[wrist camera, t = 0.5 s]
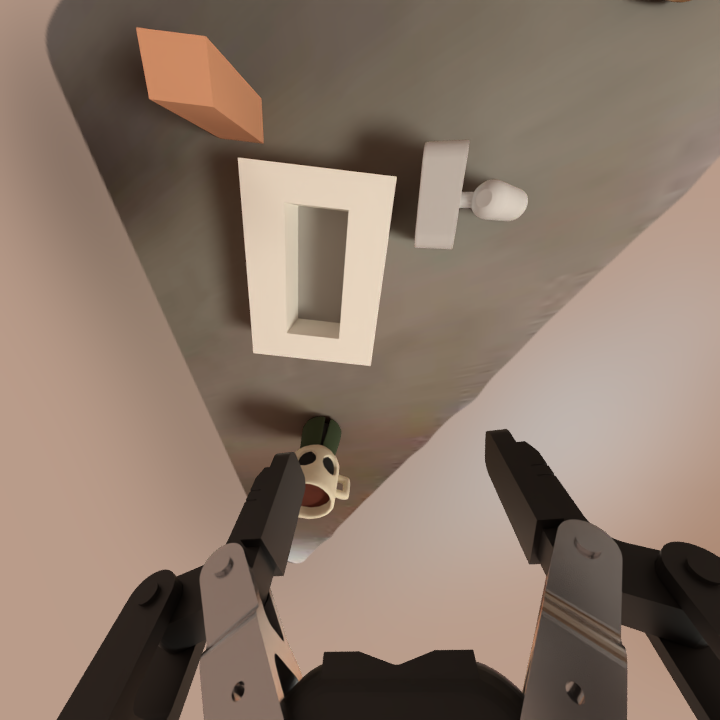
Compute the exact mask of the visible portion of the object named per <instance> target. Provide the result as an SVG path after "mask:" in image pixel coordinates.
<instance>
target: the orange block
mask: <svg viewBox="0 0 720 720" xmlns="http://www.w3.org/2000/svg"><path fill="white" fill-rule="evenodd" d="M136 30H137V36H138V41H139V46H140V52H141V57H142V63H143V68H144V73H145V79H146V84H147V89H148V95H149V99H150V100H152V101H154V102H155V103H157V104H159V105H161V106H163V107H164V108H166V109H168V110H170V111H172V112H173V113H175V114H177V115H179V116H181V117H182V118H184V119H186V120H188V121H190V122H191V123H193V124H195V125H197V126H199V127H200V128H202V129H204V130H206V131H208V132H209V133H211V134H213V135H215V136H217V137H218V138H221V139H230V140H238V141H246V142H254V143H263V144H264V142H263V120H262V99H261V98H260V97H259V95H258V94H257V93H256V92H255V91H254V90H253V89H252V88H251V86H250V85H249V84H248V83H247V82H246V81H245V80H244V79H243V77H242V76H241V75H240V74H239V73H238V72H237V71H236V70H235V68H234V67H233V66H232V65H231V64H230V63H229V62H228V61H227V60H226V58H225V57H224V56H223V55H222V54H221V53H220V52H219V51H218V49H217V48H216V47H215V46H214V45H213V44H212V43H211V42H210V40H209V39H208V38H207V37H206V36H199V35H191V34H183V33H175V32H168V31H160V30H152V29H144V28H136Z"/></svg>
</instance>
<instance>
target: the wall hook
mask: <svg viewBox="0 0 720 720" xmlns="http://www.w3.org/2000/svg"><path fill="white" fill-rule="evenodd" d="M469 142H470V140H452V141H432V142H426V143H425V146H424V152H423V160H422V170H421V180H420V190H419V200H418V210H417V220H416V230H415V247H416V248H438V249H452V248H453V243H454V237H455V231H456V225H457V219H458V212H459V208H472V211H473V213H474V214H475V215H476V216H477V217H479V218H481V219H487V220H500V221H512V220H515V219H517V218H518V217H519V216H521V215H522V214H523V212H524V211H525V209H526V207H527V203H528V197H527V194H526V193H525V192H524V191H523V190H522V189H519V188H517V187H515V186H512V185H510V184H508V183H505V182H503V181H500V180H496V179H492V180H488V181H485V182H483V183H482V184H481V185H479V186H478V187H477V189H476V190H475V191H474V192H462V187H463V181H464V175H465V169H466V162H467V156H468V150H469Z"/></svg>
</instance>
